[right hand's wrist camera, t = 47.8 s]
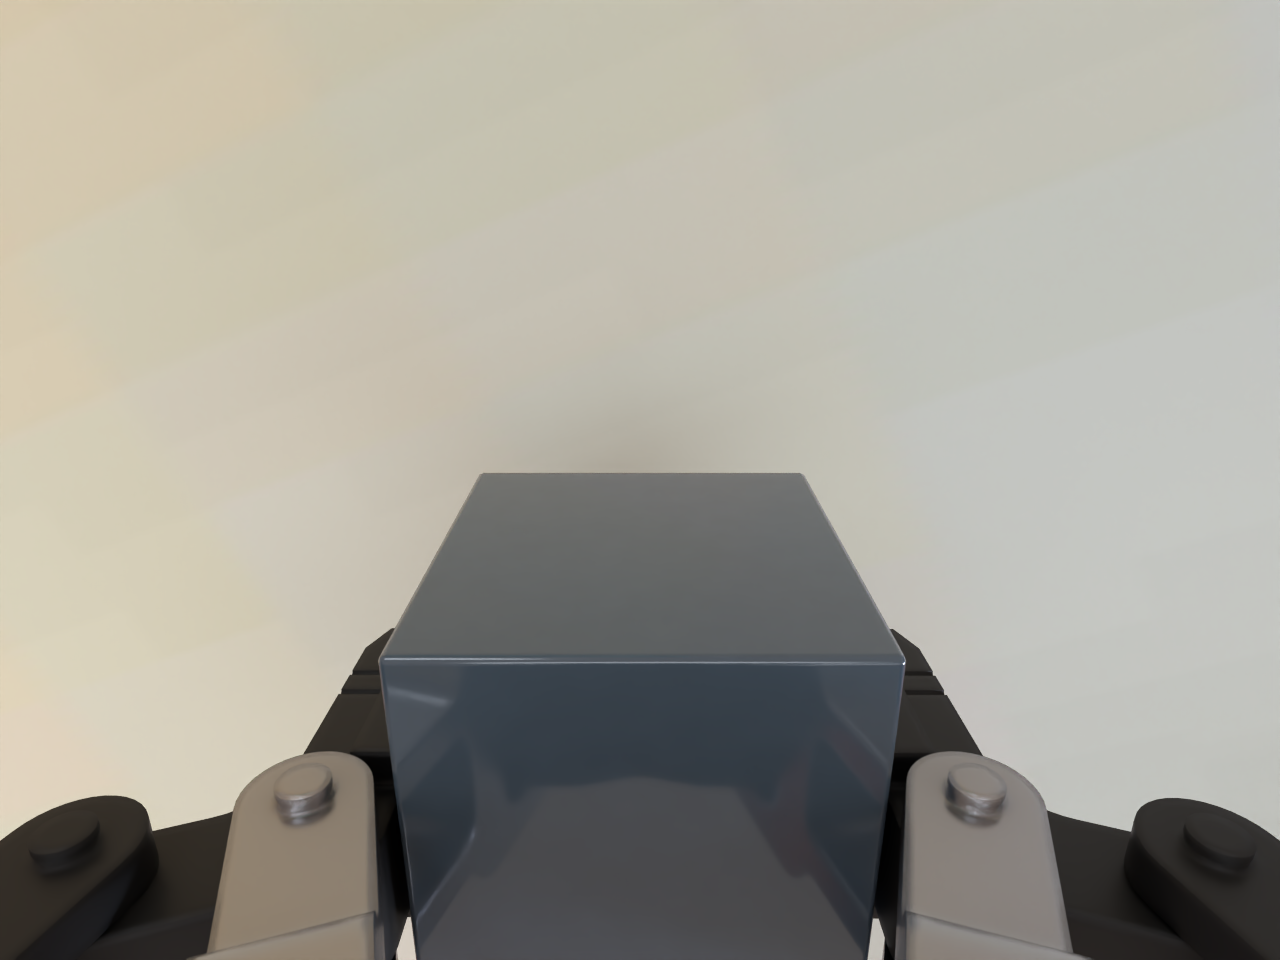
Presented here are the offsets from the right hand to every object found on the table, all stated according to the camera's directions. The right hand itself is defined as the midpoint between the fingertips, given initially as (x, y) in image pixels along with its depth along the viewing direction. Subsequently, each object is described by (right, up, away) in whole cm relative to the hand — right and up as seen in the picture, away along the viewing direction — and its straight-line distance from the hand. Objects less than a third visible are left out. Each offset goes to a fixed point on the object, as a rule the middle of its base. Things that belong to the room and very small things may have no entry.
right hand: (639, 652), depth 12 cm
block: (0, 0, 0) cm, 1 cm away
